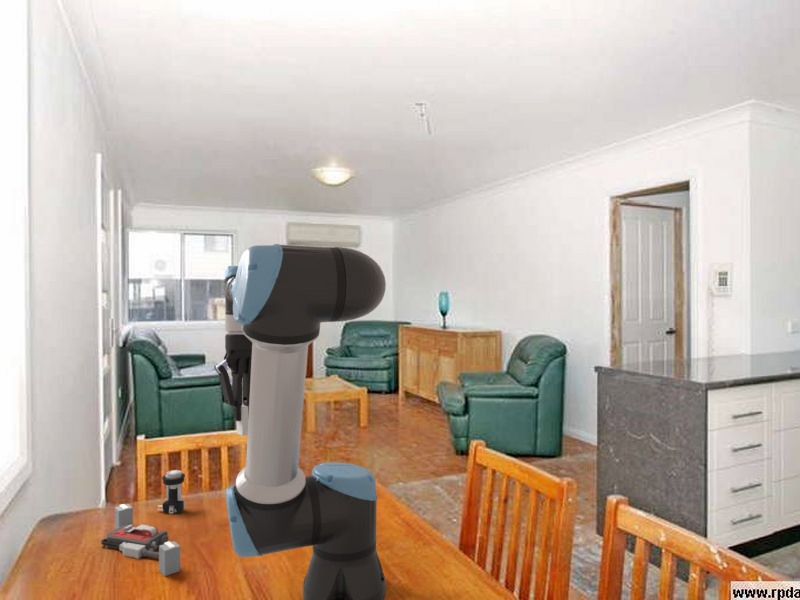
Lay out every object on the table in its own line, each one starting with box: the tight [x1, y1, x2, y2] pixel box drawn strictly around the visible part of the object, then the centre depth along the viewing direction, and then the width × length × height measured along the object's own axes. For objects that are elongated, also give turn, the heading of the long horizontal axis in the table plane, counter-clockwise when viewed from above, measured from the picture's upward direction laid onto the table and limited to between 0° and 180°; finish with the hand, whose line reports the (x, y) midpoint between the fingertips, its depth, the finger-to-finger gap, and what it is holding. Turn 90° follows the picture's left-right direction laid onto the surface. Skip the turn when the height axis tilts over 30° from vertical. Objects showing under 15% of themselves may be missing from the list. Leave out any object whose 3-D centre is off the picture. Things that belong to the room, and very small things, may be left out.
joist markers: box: [114, 503, 181, 577], centre depth 121 cm, size 30×3×5 cm, turn 44°
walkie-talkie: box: [100, 524, 169, 560], centre depth 121 cm, size 9×4×20 cm
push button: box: [157, 469, 186, 515], centre depth 141 cm, size 7×5×10 cm
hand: (242, 434), depth 130 cm, fingers closed
